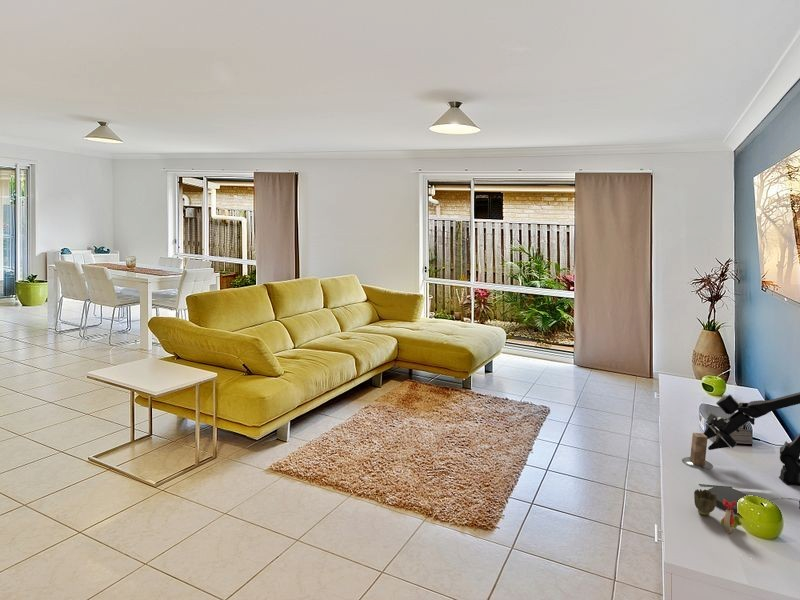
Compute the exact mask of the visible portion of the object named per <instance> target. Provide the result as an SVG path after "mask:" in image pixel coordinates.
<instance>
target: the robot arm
mask: <svg viewBox="0 0 800 600" xmlns="http://www.w3.org/2000/svg"><path fill="white" fill-rule="evenodd" d="M799 404H800V391H799V392H795V393H792V394H791V393H790V394H788V395H784V396H781V397H780V396H779V397H776V398H773V399H769V400H767V399H766V400H762V399H761V400H753V401H749V402H738V401H737V400H736V399H735V398H734V397H733V396H732V395H731V394H728V395H726V396H723V397H721V398H720V399H719V400H718V401H717V402H716V403H715V405H717V406H718V408H720V409H721V410H722V412H724V413H725V415H730V416H729V417H725V416H724V417H720V416H718V415H715V414H714V413H710V414H709V415H708V417H707V418H706V419H707V420H706V421H705V430H704V432H703V433H704V434H705V435H706V436H707V437H708V439H707V440H709V439H711V438H715V437H717V438H716V440H715V441H713V442H712V443H711V444H709V446H708V447H707V449H708V450H709V451H713V450H718V449H725V448H729V449H730V448H732V449H733V448H734V447H736V446H737V441H736V440H735V439H734V438H733V437H732V436H731V435H732V434H734V433H735V432H737V433H740V429H741V428H742V427H744V426H745V425H746V424H747V423H750V425H753V426H755V420H756V419H759V418H761V417H763V416H765V415H767V414H769V413H771V412H773V411H776V410H781V409H784V408H788V407H793V406H797V405H799ZM779 461H780V463H782V464H783V465H782V468H781V469H780V475H778V478H779V479H780V480H781V481H782V482H783V483H784V484H786V485H789V486H800V432H799V433H798V434H797V436H796V437H795V438H794V439H793V440H792V441H791V442H788V441H787V440H786V441H785V442H784V443H783V445H782V446H781V447H779Z"/></svg>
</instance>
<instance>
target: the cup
mask: <svg viewBox="0 0 800 600" xmlns="http://www.w3.org/2000/svg"><path fill="white" fill-rule="evenodd" d="M707 490H708V489H701V488H700V489H695V490H694V492H693V497H694V498H693V499H694V505H695V508H696V509H697V512H698V514H699V515H701V516H703V517H708V516H710V513H712V512H713V511H714V510H715V508H716V507H717V505H716V502H717V498H718V496H716V494H714V495H713V494H711V491H709V492H708V491H707Z"/></svg>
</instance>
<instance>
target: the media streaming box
mask: <svg viewBox="0 0 800 600" xmlns="http://www.w3.org/2000/svg"><path fill="white" fill-rule="evenodd" d="M719 486H720V487H714V488H713V487H710V488H708V489H706V490H707V491H708V492H709V491H711V494H713V495H714V494H716V496H718V498H717V502H716V507H718V506H719V508H720V509H723V510H725V511H726V509H727V508H726V507H725V506H724V505H723V502H724V500H723V499H725V500H727V501H728V502H729V503H731V502H734V501H737V502H738V500H739V499H740V498H742V497H744V496H746V495H748V494H747V493H745V492H744V491H743V492H742V491H740V490H738V489H736V488H733V487H732V488H728V487H729V486H728V487H721V486H722V485H719ZM737 502H736V505H735V506H734V507H733V508H732V510H733V512H734V514H735V513H737Z"/></svg>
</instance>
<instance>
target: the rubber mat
mask: <svg viewBox="0 0 800 600" xmlns="http://www.w3.org/2000/svg"><path fill="white" fill-rule="evenodd" d="M698 485H699V487H701V488H703V487H704V488H714V487H720V486H721V487H728V488H733V487H732V486H729V485H727V486H726V485H713V484H701V483H698Z"/></svg>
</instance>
